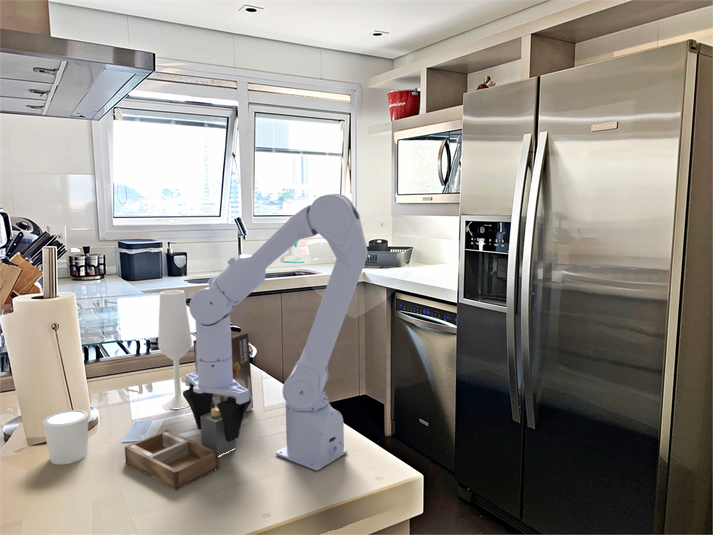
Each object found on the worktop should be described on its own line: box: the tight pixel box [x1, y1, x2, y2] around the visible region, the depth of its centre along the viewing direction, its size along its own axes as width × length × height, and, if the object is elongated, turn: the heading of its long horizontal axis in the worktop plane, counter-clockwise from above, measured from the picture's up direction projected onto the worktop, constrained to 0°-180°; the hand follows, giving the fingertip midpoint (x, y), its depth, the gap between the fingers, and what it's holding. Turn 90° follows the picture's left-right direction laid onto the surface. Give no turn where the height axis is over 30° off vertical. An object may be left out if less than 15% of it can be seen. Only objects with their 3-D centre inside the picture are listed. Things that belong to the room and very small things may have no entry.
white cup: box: [42, 409, 89, 465], centre depth 93 cm, size 7×7×7 cm
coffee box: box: [192, 330, 254, 412], centre depth 109 cm, size 9×6×16 cm
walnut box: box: [124, 429, 220, 491], centre depth 90 cm, size 14×8×3 cm, turn 52°
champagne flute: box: [157, 289, 193, 409], centre depth 114 cm, size 7×7×24 cm
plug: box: [200, 407, 237, 456], centre depth 94 cm, size 4×4×8 cm
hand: (217, 433), depth 94 cm, fingers open, 7 cm apart
